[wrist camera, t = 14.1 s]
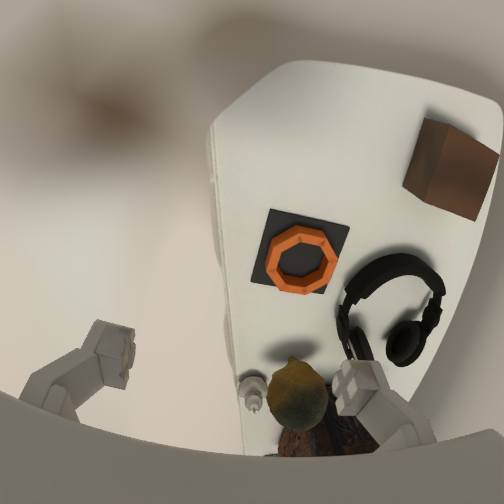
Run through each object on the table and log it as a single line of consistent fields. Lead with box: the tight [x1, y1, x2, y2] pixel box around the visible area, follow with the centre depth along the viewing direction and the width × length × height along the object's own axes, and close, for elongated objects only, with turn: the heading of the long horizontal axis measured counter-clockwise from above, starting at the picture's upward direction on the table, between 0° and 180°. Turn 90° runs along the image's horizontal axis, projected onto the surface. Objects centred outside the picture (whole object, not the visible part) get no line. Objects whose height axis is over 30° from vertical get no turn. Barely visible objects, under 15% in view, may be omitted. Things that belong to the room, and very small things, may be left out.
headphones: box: [336, 253, 446, 367], centre depth 45 cm, size 18×8×20 cm
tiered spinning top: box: [238, 376, 268, 414], centre depth 52 cm, size 5×7×8 cm
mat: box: [251, 209, 350, 294], centre depth 42 cm, size 11×11×1 cm
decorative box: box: [278, 386, 380, 457], centre depth 55 cm, size 31×20×20 cm
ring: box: [265, 225, 338, 295], centre depth 41 cm, size 9×9×2 cm
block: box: [402, 118, 500, 222], centre depth 34 cm, size 10×10×6 cm
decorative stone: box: [266, 357, 328, 432], centre depth 46 cm, size 10×6×15 cm, turn 100°
